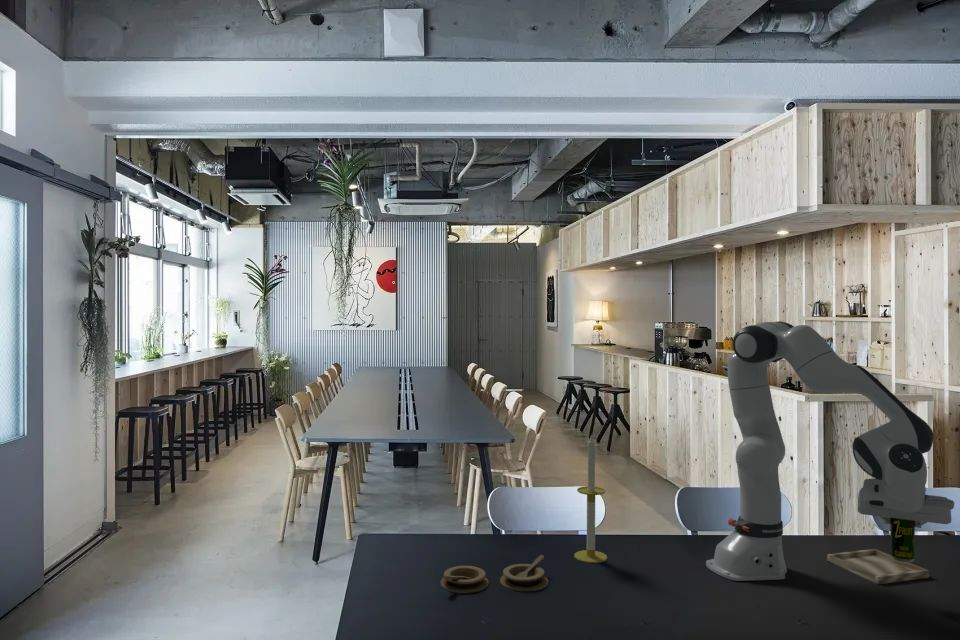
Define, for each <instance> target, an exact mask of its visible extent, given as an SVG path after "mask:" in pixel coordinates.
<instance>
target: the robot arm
mask: <svg viewBox="0 0 960 640" xmlns="http://www.w3.org/2000/svg"><path fill="white" fill-rule="evenodd" d="M732 349H733V352H732V353H731V354H730V355H729V356H728V358H727V381H728V389H729V394H730V400H731V405H732V410H733V411H732V412H733V417H734V418H735V419H736V422H737V424H738V427H739V430H740V433H741V437H742V441H741V442H740V443H739V445H738V446H737V449H736V452H735V462H736V466H737V475H738V482H739V489H740V490H739V495H740V496H739V497H740V498H739V499H740V503H739V504H740V505H739V506H740V507H739V508H740V509H739V511H740V515H739V516H738V518H737V520H736V519H734V518H731V517H729V518H728V520H727V524H728V525H729V526H731V527H733V528H734V530H733V531H732V532H730V534H728V535H727V536H726V537H725V538H724V539H722V540H721V541H720V542H719V543H718V544H717V545H716V547H715V550H714V558H711V559H706V561H705V565H706V567H707V568H708V569H709V570H710V571H711V572H713V573H715V574H717V575H718V576H720V577H722V578H725V579H727V580H731V581H734V582H735V581H737V582H741V581H748V582H749V581H769V580H770V581H773V580H777V581H779V580H785V579H786V575H787V573H788V569H787V566H786V562H785V557H784V556H785V555H784V552H783V551H784V550H783V542H782V541H783V539H782V536H783V534H784V525H783V524H784V523H783V521H782V492H781V487H780V480H779V479H780V477H779V466H780V464H781V463H782V462H783V460H784V459H785V456H786V446H785V443H784V439H783V435H782V431H781V428H780V425H779V422H778V418H777V416H776V413H775V409H774V402H773V399H772V393H771V385H770V382H769V377H768V366H770V365H769V364H770V363H777V362H779V361H781V360H783V359H784V360H786V362H787V363H789V364H790V367H791V368H792V369H793V371H794V372H795V374H796V375H797V376H798V378H799V379H800V381H801V382H802V384H803V385H804V386H806V387H807V388H808V389H809V390H811V391H813V392H816V393H819V394H827V395H833V394H836V395H837V394H842V393H843V394H844V393H845V394H846V393H847V394H849V393H854V394H860V395H862V396H864V397H866V398H867V399H869V401H871V403H873V405H874V406H875V407H876V408H878V409H879V410H880V411H881V412H882V413H883V415H885V416H886V417H887V418H888V419H889V421H888V422H885V423H884V424H882V425H879V426H877V427H875V428H873V429H871V430H870V429H869V430H868V431H865V432H864V433H861V434H859V435H858V436H855V438H854V439H853V442H852V453H853V454H852V455H853V458H854V460H855V462H856V463H857V466H859V468H861V470H862V471H864V472H865V474H867V475H868V476H870V477H872V478H865V479H863V482H862V483H863V485H862V487H861V488H860V490H859V492H858V496H857V512H858V513H859V514H861V515H866V516H871V517H872V516H873V517H879V518H880V519H881V520H882V521H883V524H884V525H890V523H891V519H890V518H897V519H905V520H914V521H915V528H917V529H922V526H923V525H925V524H928V523H931V524H932V523H933V524H938V525H939V524H940V525H950V524H951V523H952V511H951V510H953V509H954V507H955V502H954V500H952V499H949V498H948V497H945V496H941V495H932V494H931V495H929V494H926V491H927V490H926V484H927V481H928V480H927V479H928V469H927V468H928V467H927V463H926V459H925V457H924V454H926V453H928V452H930V451H931V449H932V446H933V443H934V438H935V437H934V431H933V429H932V428H931V426H930V425H929V424H928V423H927V422H926V421H925V420H924V419H922V418H921V416H918V415H917V414H916V413H914V412H913V411H912V410H911V409H909V407H907V406H906V405H905V404H904V403H903V402H902V401H901V400H900V399H899V398H898V397H897V396H896V395H894V394H893V393H892V392H891V390H889V388H887V387H886V386H885V385H884V384H883V383H882V382H881V381H880V380H878V378H877V377H875V376H874V374H871V372H870V371H868V370H867V369H865V367H863V366H861V365H855V364H854V365H853V364H851V363H848V362H847V361H846V360H844V359H843V358H841V357H840V356H839V355H838V354H837V353H836V351H835V350H834V349H833V348H832V346H831V345H830V344H829V343H828V342H827V341H826V339H824V337H823V336H821V335H820V333H818V332H817V330H815V329H814V328H813V327H811V326H809V325H807V324H800V325H795V326H794V325H792V324H791V323H789V322H784V321H779V320H778V321H764V322H761V323H758V324H754V325H753V324H752V325H747V326H745V327H744V326H743V328H741V329H739V330H738V331H737V332H736V333H735V334H734V336H733V339H732Z"/></svg>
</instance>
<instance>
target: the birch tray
mask: <svg viewBox="0 0 960 640" xmlns="http://www.w3.org/2000/svg"><path fill="white" fill-rule="evenodd" d="M826 561H827V562H828V561H829V563H830V562H831V563H830V564H832V563H833V565H835V566H837V567H839V568H841V569H844V570H846V571H848V572H849V573H852V574H854V575H856V576H859V577H861V578H862V579H865V580H866V581H867V580H868V581H869V582H872V583H874V584H876V585H884V584H891V583H893V584H894V583H899V582H907V581H914V580H920V579H921V580H922V579H928V578H930V570H928V569H926V568H924V567H922V566H919V565H916V564H914V563H913V562H902V561H898V560H895V559H893V558H892V557H891V554H890V553H886V552H884V551H882V550H880V549H876V548H871V549H861V550H860V549H859V550H853V551H844V552H836V553H828V554H826Z"/></svg>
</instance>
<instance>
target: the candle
mask: <svg viewBox="0 0 960 640" xmlns="http://www.w3.org/2000/svg"><path fill="white" fill-rule="evenodd" d="M595 485H596V442H595V441H594V438H593V435H592V433H591V434H590V439H589V440H588V441H587V486H580V487H578V488H577V490H576V491H577V492H578V494H582V495H586V549H585V550H584V549H583V550H579V551H576V552H575V553H574V555H573V557H574V559H576V560H577V561H578V562H582V563H587V564H599V563H603V562H605V561H607V560H608V556H607V554H605V553H604V552H602V551H597V550H596V496H601V495H604V494H605V493H606V489H604V488H601V487H598V486H595Z"/></svg>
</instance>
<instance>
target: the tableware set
mask: <svg viewBox="0 0 960 640" xmlns="http://www.w3.org/2000/svg"><path fill="white" fill-rule="evenodd" d="M544 560H545V555H543V554H540V555H539V556H537V557H536V559H535V560H533V562H532V563H517V564H511V565H509V566H507V567H505V568H503V570H502V576H500V578H499V582H500V584H501V586H503V587H504V588H506V589H509V590H512V591H515V592H516V591H517V592H535V591H539V590H543V589H544V588H546V587H547V586H548V585H549V578H548V577H547V576H546V575H545V570H544V568H542V567H541V566H539V565H540V563H542V562H543V561H544ZM486 575H487V573H486V571H485V570H484V569H483V568H480V567H477V566H473V565H457V566H453V567H449V568H448V569H446V570H445V571H444V572H443V577H442V579H441V580H440V583H439V584H440V587H442V588H443V589H444V590H446V591H448V592H451V593H455V594H471V593H478V592H481V591H483V590H485V589H486V588H487V587H488V586H489V579H488V578H487V576H486ZM537 581H538V582H537ZM536 583H537V584H536Z"/></svg>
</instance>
